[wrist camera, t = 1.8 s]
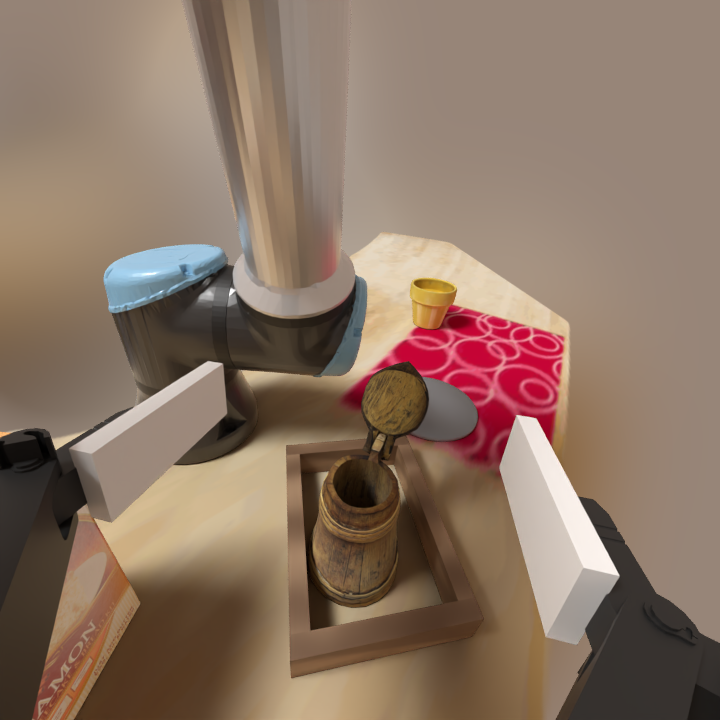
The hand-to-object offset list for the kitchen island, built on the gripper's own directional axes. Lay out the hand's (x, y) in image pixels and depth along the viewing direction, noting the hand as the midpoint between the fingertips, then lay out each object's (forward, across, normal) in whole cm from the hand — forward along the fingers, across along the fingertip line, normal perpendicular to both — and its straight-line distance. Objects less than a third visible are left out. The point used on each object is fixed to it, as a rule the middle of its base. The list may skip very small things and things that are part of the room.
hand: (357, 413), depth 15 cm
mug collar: (+12, 0, -22) cm, 25 cm away
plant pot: (+67, +4, -15) cm, 69 cm away
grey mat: (+35, +6, -19) cm, 41 cm away
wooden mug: (+12, 0, -23) cm, 26 cm away
